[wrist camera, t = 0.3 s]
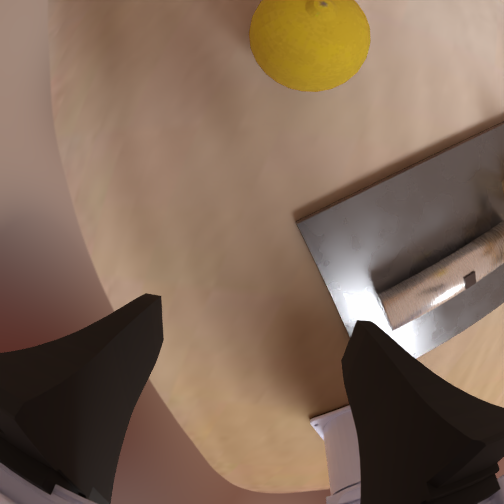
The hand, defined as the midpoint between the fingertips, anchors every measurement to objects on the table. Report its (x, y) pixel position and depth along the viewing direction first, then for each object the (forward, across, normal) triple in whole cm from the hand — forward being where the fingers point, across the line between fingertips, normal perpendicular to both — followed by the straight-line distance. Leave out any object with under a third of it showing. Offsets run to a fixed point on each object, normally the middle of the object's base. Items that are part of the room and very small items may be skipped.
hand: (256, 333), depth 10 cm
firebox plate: (+9, -17, -2) cm, 19 cm away
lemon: (+9, -1, -12) cm, 15 cm away
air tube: (+9, -14, -1) cm, 17 cm away
